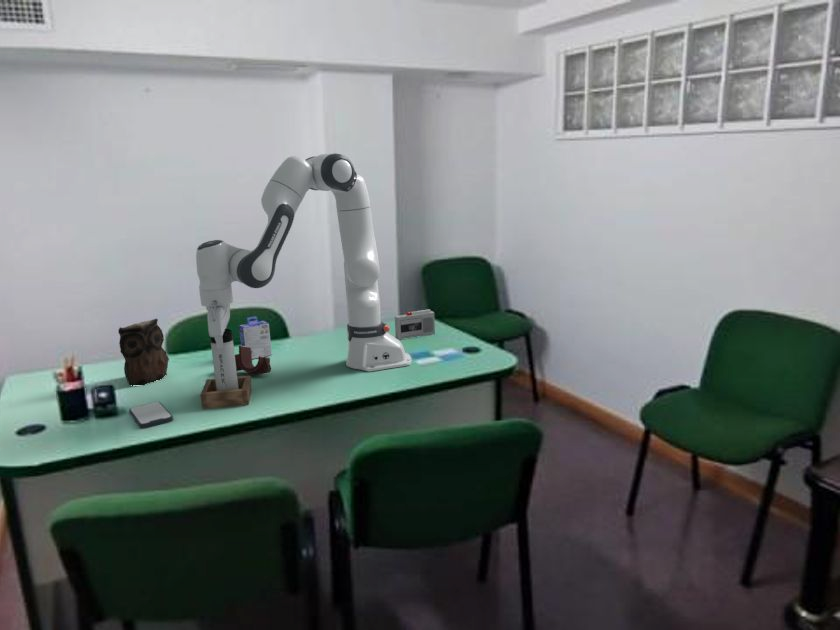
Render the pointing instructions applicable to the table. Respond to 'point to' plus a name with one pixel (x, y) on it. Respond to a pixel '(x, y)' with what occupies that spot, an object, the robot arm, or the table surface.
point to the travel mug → (224, 363)
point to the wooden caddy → (226, 394)
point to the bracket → (245, 362)
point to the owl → (143, 352)
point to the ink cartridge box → (256, 337)
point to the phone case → (150, 415)
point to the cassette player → (415, 324)
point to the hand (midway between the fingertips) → (221, 343)
